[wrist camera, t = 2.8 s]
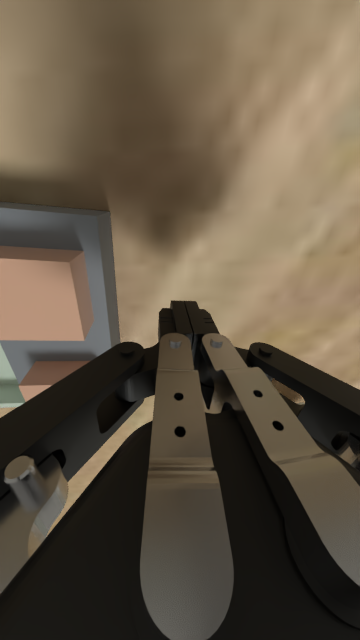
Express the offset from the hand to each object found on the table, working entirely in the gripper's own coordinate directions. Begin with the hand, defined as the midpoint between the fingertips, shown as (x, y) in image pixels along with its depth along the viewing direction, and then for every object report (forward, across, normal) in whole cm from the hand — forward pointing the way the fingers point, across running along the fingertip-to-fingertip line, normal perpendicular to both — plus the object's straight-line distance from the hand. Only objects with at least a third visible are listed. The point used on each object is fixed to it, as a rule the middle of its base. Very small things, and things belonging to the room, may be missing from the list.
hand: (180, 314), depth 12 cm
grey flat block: (+7, +9, +4) cm, 12 cm away
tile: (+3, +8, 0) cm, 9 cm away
